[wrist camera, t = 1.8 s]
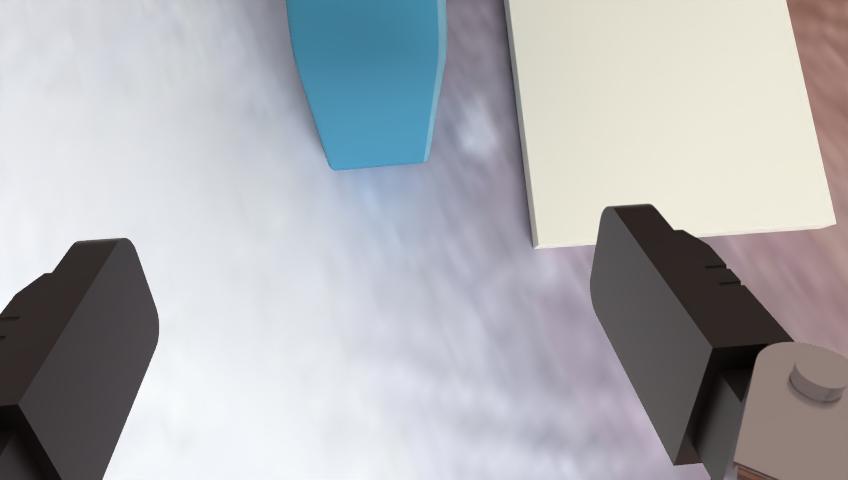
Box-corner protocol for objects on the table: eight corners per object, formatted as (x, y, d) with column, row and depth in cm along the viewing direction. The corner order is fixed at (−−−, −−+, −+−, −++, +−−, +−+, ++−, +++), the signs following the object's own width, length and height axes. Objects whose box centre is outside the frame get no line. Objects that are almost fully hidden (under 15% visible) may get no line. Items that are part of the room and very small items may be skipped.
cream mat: (749, -96, 32) (760, -111, 31) (821, 228, 29) (836, 223, 28) (493, -87, 31) (496, -102, 30) (533, 249, 28) (538, 244, 27)
